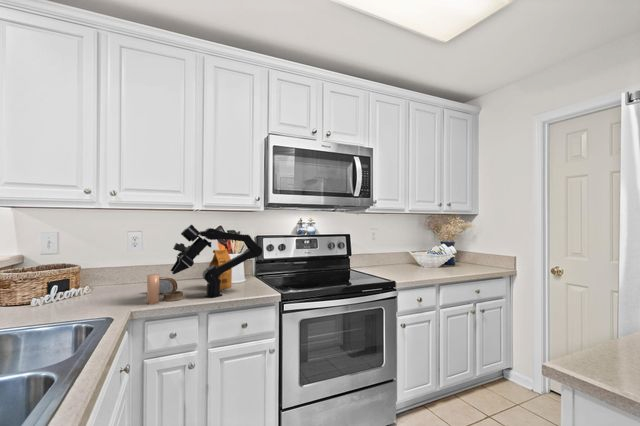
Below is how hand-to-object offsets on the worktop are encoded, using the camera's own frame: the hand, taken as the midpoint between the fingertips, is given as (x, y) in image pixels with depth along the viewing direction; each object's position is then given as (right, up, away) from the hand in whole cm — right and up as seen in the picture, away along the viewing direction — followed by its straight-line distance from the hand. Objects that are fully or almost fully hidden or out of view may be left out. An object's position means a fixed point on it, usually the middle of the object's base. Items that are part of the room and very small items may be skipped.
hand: (172, 272), depth 159 cm
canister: (-7, -14, -4) cm, 16 cm away
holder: (-1, -14, +3) cm, 14 cm away
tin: (-11, -14, +16) cm, 24 cm away
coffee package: (+15, -14, +28) cm, 34 cm away
